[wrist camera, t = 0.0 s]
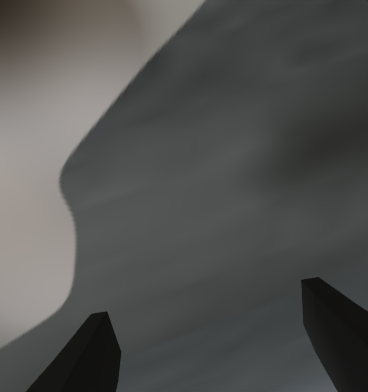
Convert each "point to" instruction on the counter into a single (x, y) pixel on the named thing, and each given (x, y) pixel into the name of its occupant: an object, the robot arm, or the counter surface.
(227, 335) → the counter surface
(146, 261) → the counter surface
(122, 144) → the counter surface
